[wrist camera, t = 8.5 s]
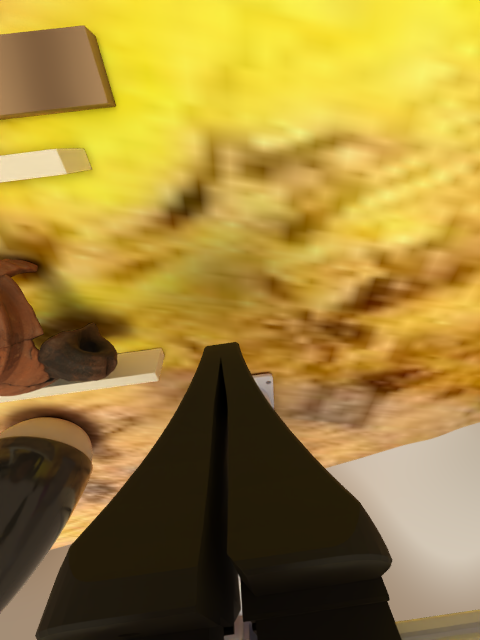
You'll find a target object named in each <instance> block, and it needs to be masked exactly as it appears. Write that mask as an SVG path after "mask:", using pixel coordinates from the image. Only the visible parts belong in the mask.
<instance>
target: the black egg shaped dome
mask: <svg viewBox="0 0 480 640" xmlns="http://www.w3.org/2000/svg"><path fill="white" fill-rule="evenodd" d="M92 469H93V465H92V445H91V441H90V439H89V437H88V435H87V434H86V433H85V431H84V430H83V429H82V428H80V427H79V426H77V425H76V424H74V423H72V422H70V421H67V420H63V419H59V418H51V417H42V418H34V419H29V420H26V421H23V422H20V423H17V424H15V425H13V426H11V427H10V428H8V429H6V430H5V431H3V432H2V433H1V434H0V613H1V612H2V611H3V610H4V609H5V608H6V607H7V605H8V604H9V603H10V602H11V601H12V600H13V598H14V597H15V596H16V595H17V594H18V592H19V591H20V590H21V588H22V587H23V586H24V585H25V583H26V582H27V581H28V579H29V578H30V577H31V575H32V574H33V572H34V571H35V570H36V568H37V567H38V566H39V564H40V563H41V562H42V560H43V559H44V557H45V556H46V554H47V553H48V552H49V550H50V549H51V547H52V546H53V544H54V543H55V541H56V540H57V538H58V536H59V535H60V533H61V532H62V530H63V528H64V527H65V525H66V523H67V522H68V520H69V518H70V516H71V515H72V513H73V511H74V509H75V507H76V505H77V503H78V501H79V500H80V498H81V496H82V494H83V492H84V490H85V488H86V485H87V483H88V481H89V478H90V476H91V473H92Z"/></svg>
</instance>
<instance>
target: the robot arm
mask: <svg viewBox="0 0 480 640" xmlns="http://www.w3.org/2000/svg"><path fill="white" fill-rule="evenodd" d="M391 563H392V558H391V556H390V554H389V551H388V549H387V547H386V545H385V543H384V541H383V539H382V537H381V535H380V533H379V532H378V530H377V528H376V527H375V525H374V523H373V522H372V520H371V518H370V517H369V515H368V514H367V512H366V511H365V509H364V508H363V506H362V505H361V503H360V502H359V501H358V500H357V499H356V498H355V497H354V496H353V495H352V494H351V493H350V492H349V491H348V490H346V489H345V488H344V487H343V486H342V485H341V484H340V483H339V482H338V481H337V480H336V479H335V478H334V477H333V476H332V475H331V474H330V473H329V472H328V471H327V470H326V469H325V468H324V467H323V466H322V465H321V464H320V463H319V462H318V461H317V460H316V459H315V458H314V457H313V456H312V454H311V453H310V452H309V451H308V450H307V449H306V448H305V447H304V445H303V444H302V443H301V442H300V441H299V440H298V439H297V438H296V436H295V435H294V434H293V433H292V432H291V431H290V430H289V428H288V427H287V426H286V425H285V423H284V422H283V421H282V420H281V418H280V417H279V416H278V414H277V413H276V412H275V410H274V393H273V377H272V375H271V374H269V373H267V374H260V375H253V376H252V375H251V373H250V371H249V369H248V367H247V365H246V363H245V361H244V359H243V356H242V353H241V351H240V347H239V344H238V343H237V342H233V343H226V344H219V345H212V346H206V348H205V349H204V352H203V355H202V358H201V361H200V363H199V366H198V368H197V371H196V373H195V375H194V377H193V379H192V382H191V384H190V386H189V388H188V390H187V392H186V394H185V396H184V398H183V400H182V401H181V403H180V405H179V407H178V409H177V411H176V412H175V414H174V416H173V417H172V419H171V421H170V422H169V424H168V425H167V427H166V429H165V430H164V432H163V433H162V435H161V436H160V438H159V439H158V441H157V442H156V443H155V445H154V446H153V448H152V449H151V451H150V452H149V454H148V455H147V456H146V458H145V459H144V460H143V462H142V463H141V464H140V466H139V467H138V468H137V469H136V471H135V472H134V473H133V474H132V476H131V477H130V478H129V479H128V481H127V482H126V483H125V484H124V486H123V487H122V488H121V489H120V491H119V492H118V493H117V494H116V496H115V497H114V498H113V499H112V500H111V501H110V503H109V504H108V505H107V506H106V507H105V508H104V509H103V510H102V512H101V513H100V514H99V515H98V516H97V517H96V518H95V519H94V521H93V522H92V523H91V524H90V525H89V526H88V527H87V528H86V529H85V531H84V532H83V533H82V534H81V535H80V536H79V537H78V538H77V539H76V540H75V542H74V543H73V544H72V545H71V546H70V548H69V550H68V553H67V555H66V557H65V559H64V562H63V564H62V566H61V568H60V570H59V573H58V575H57V578H56V580H55V583H54V586H53V588H52V591H51V594H50V597H49V599H48V602H47V605H46V607H45V610H44V613H43V616H42V618H41V621H40V624H39V627H38V629H37V632H36V635H35V636H36V638H37V640H480V610H473V611H467V612H459V613H453V614H446V615H439V616H433V617H426V618H419V619H412V620H405V621H398V622H395V621H394V618H393V615H392V613H391V610H390V607H389V605H388V602H387V601H389V595H388V593H387V590H386V587H385V585H384V582H383V579H382V577H381V576H382V575H383V574H384V573H385V572H386V571H387V570H388V569H389V568H390V566H391Z"/></svg>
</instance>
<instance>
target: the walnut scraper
mask: <svg viewBox="0 0 480 640" xmlns="http://www.w3.org/2000/svg"><path fill="white" fill-rule="evenodd" d="M115 106H116V104H115V101H114V98H113V94H112V91H111V87H110V84H109V81H108V77H107V74H106V70H105V67H104V64H103V60H102V57H101V53H100V50H99V47H98V43H97V40H96V36H95V35H94V34H93V33H92V32H90V31H89V30H88V29H87V28H86V27H85V26H75V27H66V28H57V29H48V30H38V31H29V32H20V33H11V34H2V35H0V120H1V119H10V118H19V117H27V116H36V115H45V114H54V113H62V112H71V111H80V110H89V109H97V108H106V107H115Z"/></svg>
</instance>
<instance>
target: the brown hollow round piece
mask: <svg viewBox="0 0 480 640" xmlns="http://www.w3.org/2000/svg"><path fill="white" fill-rule="evenodd" d="M37 269H38V266H37V265H35V264H33V263H30V262H27V261H24V260H11V259H3V260H0V396H16V395H21V394H25V393H29V392H33V391H35V390H39V389H41V388H43V387H46V386H48V385H50V384H52V383H54V382H55V381H57V380H58V379H63V380H66V381H89V380H92V381H97V380H101V379H104V378H106V377H107V376H108V375H109V374H110V373H111V372H113V371H114V370H115V368H116V366H117V364H118V361H117V352H116V350H115V348H114V346H113V345H112V344H111V343H110V342H109V341H108V340H106V339H105V338H103V337H102V336H101V335H100V333H99V330H98V327H97V326H96V324H95V323H89V324H88V325H87V326H85V327H83V328H81V329H77V330H74V331H64V332H61V333H59V334H57V335H55V336H53V337H51V338H49V339H48V340H46V341H45V342H44V343H43V344H42V346H41V349H40V350H38V349H37V348H36V347H35V345H34V342H33V339H34V338H36V337H38V336H40V335H43V329H42V327H41V326H40V323H39V321H38V319H37V318H36V315H35V313H34V310H33V308H32V307H31V305H30V304H29V303H28V301H27V300H26V298H25V296H24V294H23V293H22V291H21V289H20V288H19V286H18V285H17V284H16V282H14V280H13V279H11V277H13V276H15V275H17V274H19V273H27V272H36V271H37Z"/></svg>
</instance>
